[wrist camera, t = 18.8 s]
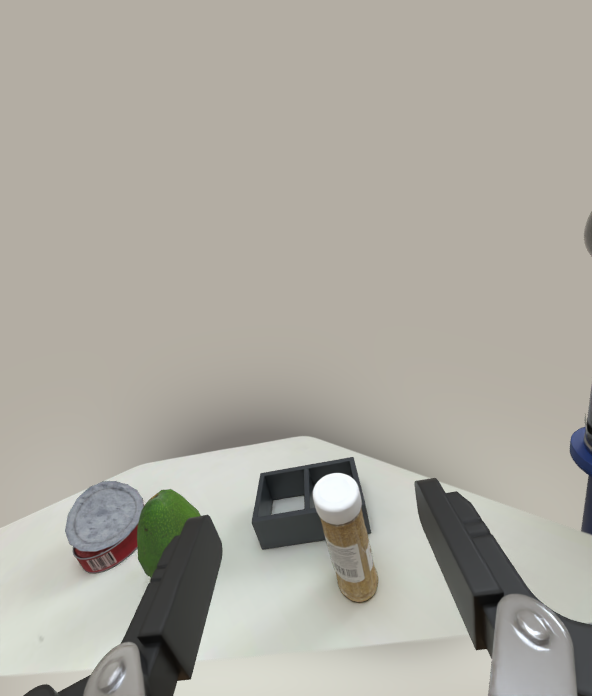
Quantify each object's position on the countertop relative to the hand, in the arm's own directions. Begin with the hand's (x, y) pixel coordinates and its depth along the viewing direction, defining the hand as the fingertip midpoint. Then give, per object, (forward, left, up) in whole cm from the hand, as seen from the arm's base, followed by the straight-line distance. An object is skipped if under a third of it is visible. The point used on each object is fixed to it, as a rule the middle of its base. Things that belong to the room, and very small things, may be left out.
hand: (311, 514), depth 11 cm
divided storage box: (+4, -22, -26) cm, 34 cm away
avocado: (+22, -17, -26) cm, 38 cm away
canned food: (+36, -23, -26) cm, 50 cm away
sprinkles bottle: (0, -13, -26) cm, 29 cm away
